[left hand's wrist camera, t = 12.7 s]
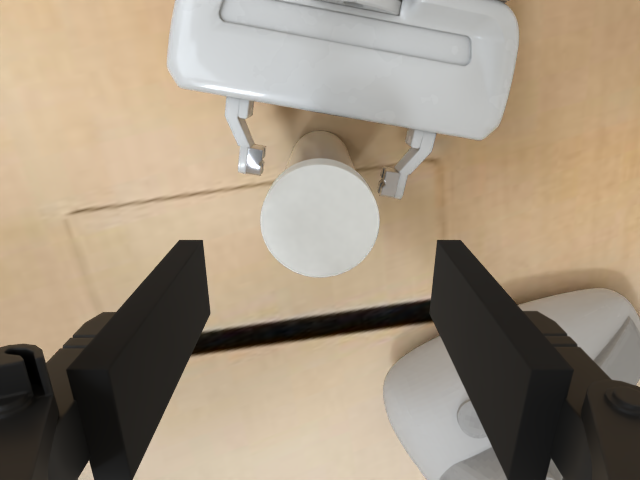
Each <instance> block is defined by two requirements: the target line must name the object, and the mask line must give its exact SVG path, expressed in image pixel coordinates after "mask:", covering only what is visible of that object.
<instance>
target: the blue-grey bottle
mask: <svg viewBox="0 0 640 480" xmlns="http://www.w3.org/2000/svg"><path fill="white" fill-rule="evenodd" d="M316 158H324V159H331V160H336V161H339V162H342V163H344V164H346V165H348V166H350V167H351V168H353V169H354V170H355V168H354V166H353V163H352V161H351V158H350V155H349V153H348V150H347V148H346V146H345V144H344V143H343V141H342V140H341V139H340V138H339V137H337V136H336V135H334V134H332V133H330V132H327V131H313V132H310V133H308V134H306V135H304V136H303V137H301V138H300V139H299V140H298V141H297V143H296V144H295V146H294V148H293V150H292V153H291V156H290V158H289V161H288V163H287V166H286V168H285V170H286V169H287V168H289V167H290V166H292V165H294V164H296V163H298V162H301V161H304V160H309V159H316Z"/></svg>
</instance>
